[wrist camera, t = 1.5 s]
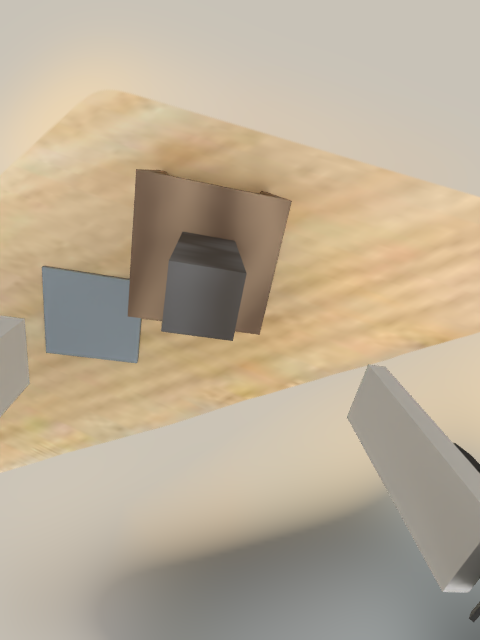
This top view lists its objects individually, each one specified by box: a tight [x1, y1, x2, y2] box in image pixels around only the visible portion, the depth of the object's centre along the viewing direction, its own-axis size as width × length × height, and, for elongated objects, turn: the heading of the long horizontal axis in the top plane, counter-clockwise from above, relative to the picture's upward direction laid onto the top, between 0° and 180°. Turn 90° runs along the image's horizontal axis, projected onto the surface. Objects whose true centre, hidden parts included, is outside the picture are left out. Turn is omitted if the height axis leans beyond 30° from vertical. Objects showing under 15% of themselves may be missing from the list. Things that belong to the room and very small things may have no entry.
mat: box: [42, 266, 141, 363], centre depth 43 cm, size 12×12×1 cm
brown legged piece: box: [128, 169, 292, 341], centre depth 30 cm, size 13×13×22 cm
